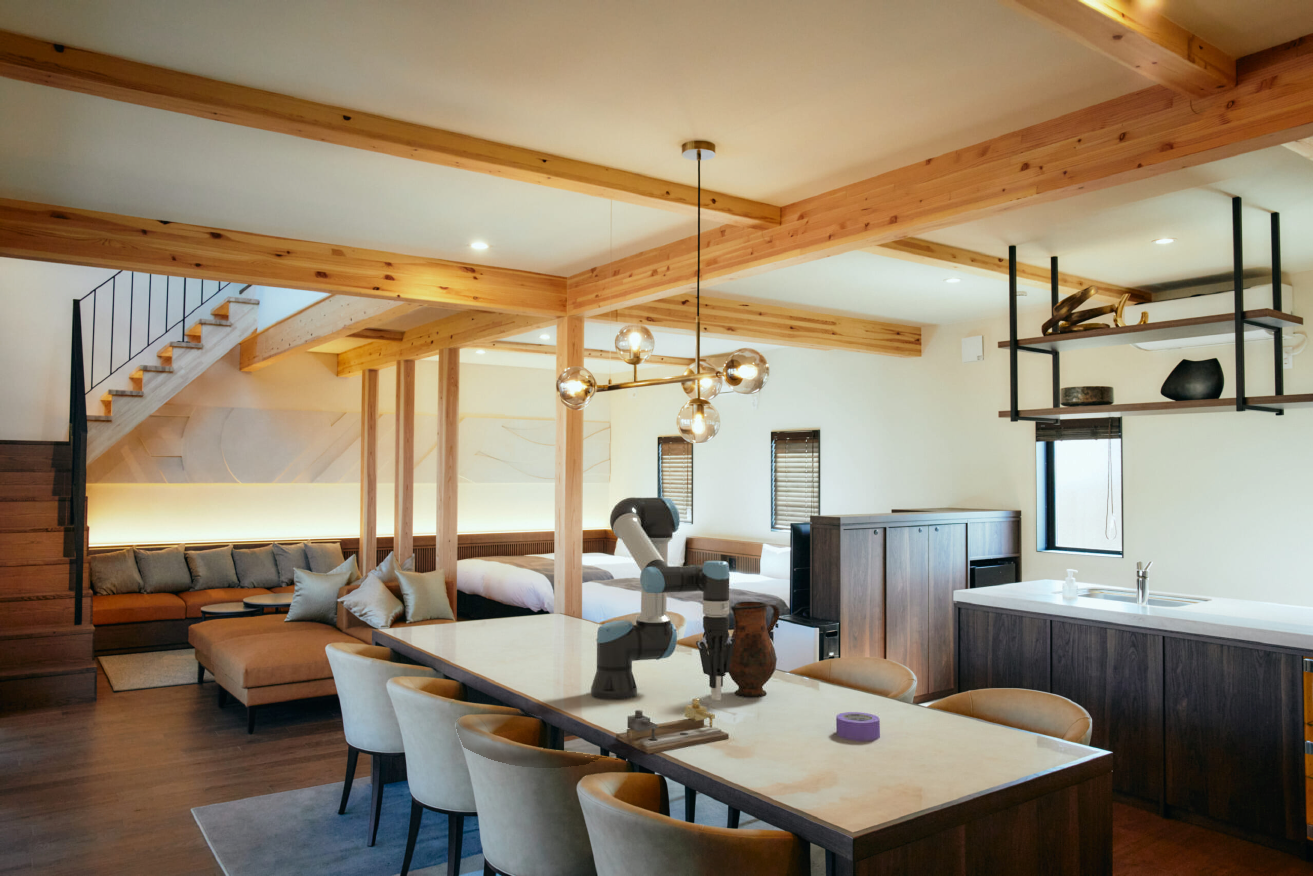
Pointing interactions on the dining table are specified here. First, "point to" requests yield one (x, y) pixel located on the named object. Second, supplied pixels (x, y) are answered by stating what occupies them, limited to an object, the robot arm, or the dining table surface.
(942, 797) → the dining table surface
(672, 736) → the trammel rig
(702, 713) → the sliding head
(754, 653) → the pitcher
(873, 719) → the tape roll
